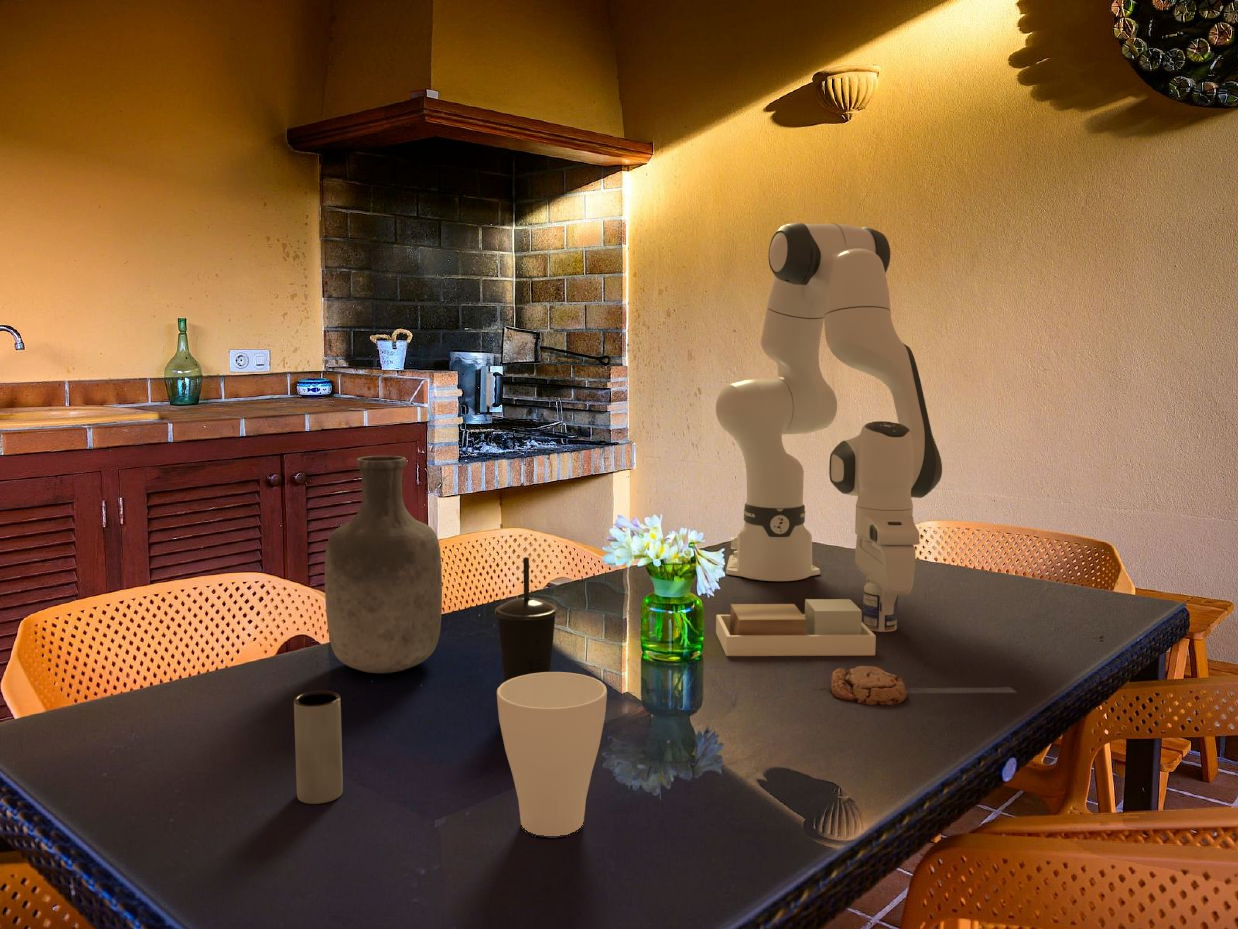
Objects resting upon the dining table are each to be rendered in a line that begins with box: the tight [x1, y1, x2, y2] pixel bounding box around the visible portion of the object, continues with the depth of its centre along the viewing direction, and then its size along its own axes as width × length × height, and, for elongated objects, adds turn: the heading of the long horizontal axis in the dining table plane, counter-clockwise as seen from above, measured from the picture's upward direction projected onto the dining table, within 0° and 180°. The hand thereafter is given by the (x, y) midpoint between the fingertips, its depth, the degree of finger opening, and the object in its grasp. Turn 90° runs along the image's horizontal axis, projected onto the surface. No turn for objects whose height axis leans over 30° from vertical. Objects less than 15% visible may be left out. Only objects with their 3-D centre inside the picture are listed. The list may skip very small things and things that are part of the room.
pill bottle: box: [862, 571, 899, 633], centre depth 166 cm, size 5×5×10 cm
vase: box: [324, 455, 443, 674], centre depth 144 cm, size 16×16×30 cm
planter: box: [293, 690, 344, 805], centre depth 105 cm, size 4×4×10 cm
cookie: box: [830, 665, 907, 706], centre depth 138 cm, size 10×11×3 cm
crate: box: [715, 613, 877, 657], centre depth 157 cm, size 12×22×4 cm, turn 92°
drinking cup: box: [494, 556, 559, 683], centre depth 127 cm, size 8×8×20 cm
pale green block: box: [804, 598, 863, 635], centre depth 157 cm, size 7×7×6 cm
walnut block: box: [729, 603, 807, 635], centre depth 157 cm, size 9×10×5 cm
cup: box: [496, 671, 608, 836], centre depth 99 cm, size 10×10×14 cm
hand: (880, 608), depth 166 cm, fingers closed on pill bottle, 5 cm apart
